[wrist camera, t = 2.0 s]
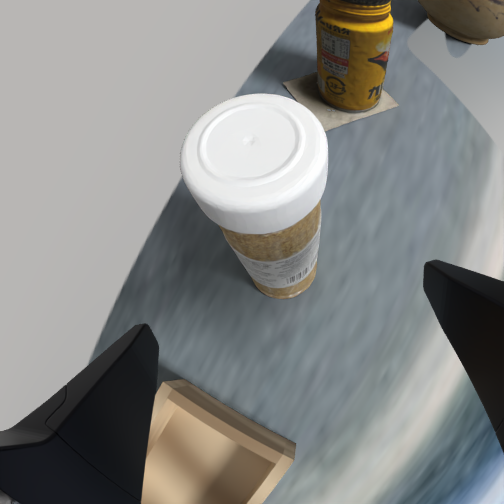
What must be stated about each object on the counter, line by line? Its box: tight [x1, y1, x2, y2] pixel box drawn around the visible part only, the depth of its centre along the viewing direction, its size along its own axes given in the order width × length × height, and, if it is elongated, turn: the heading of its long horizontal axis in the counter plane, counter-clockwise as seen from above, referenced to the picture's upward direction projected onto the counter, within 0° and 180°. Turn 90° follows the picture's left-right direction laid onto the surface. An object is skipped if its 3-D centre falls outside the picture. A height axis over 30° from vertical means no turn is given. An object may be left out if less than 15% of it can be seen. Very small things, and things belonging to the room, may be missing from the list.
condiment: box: [283, 0, 399, 131], centre depth 20 cm, size 7×8×12 cm
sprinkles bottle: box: [180, 94, 328, 299], centre depth 15 cm, size 5×5×13 cm
